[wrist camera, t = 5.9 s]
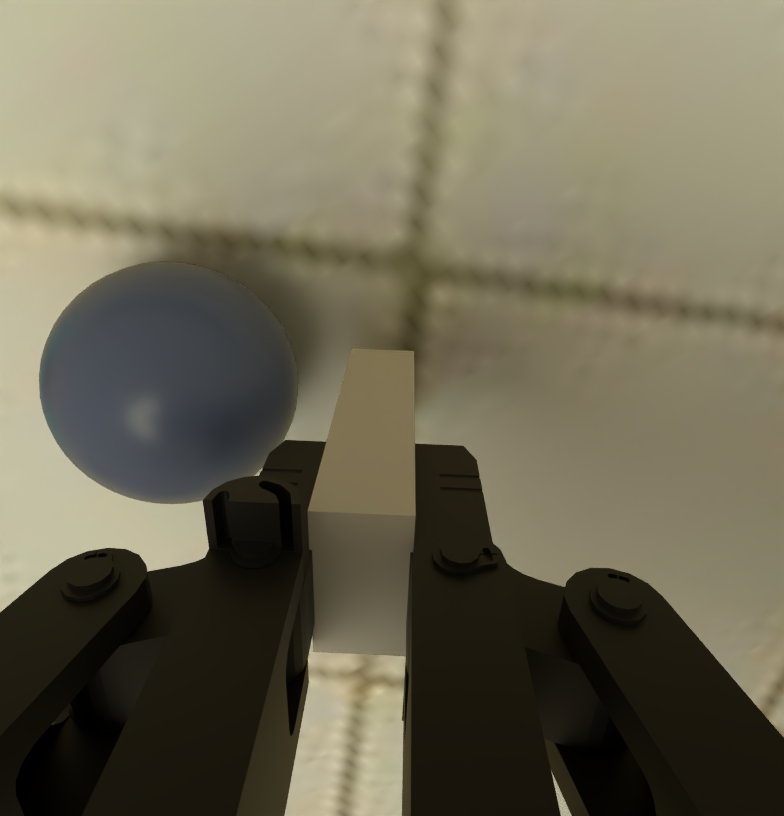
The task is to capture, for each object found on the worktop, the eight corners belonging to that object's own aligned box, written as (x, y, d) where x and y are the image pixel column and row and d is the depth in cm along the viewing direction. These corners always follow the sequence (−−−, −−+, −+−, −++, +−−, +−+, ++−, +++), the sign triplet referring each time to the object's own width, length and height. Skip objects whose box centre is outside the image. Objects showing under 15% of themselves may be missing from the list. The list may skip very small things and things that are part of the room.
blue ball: (-34, 277, 9) (73, 235, 14) (12, 558, 11) (92, 435, 16) (311, 302, 10) (299, 255, 15) (296, 553, 12) (289, 440, 17)
